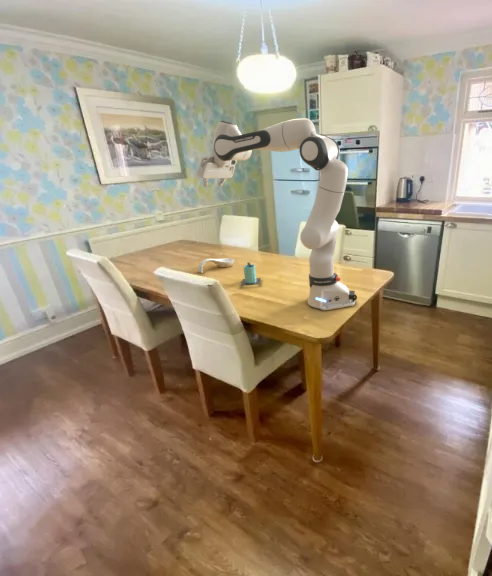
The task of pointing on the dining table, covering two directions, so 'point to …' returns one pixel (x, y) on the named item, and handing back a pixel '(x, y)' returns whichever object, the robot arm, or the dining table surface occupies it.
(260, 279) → the stand
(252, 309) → the dining table surface
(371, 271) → the dining table surface
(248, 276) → the teal hollow cylinder
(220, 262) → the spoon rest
